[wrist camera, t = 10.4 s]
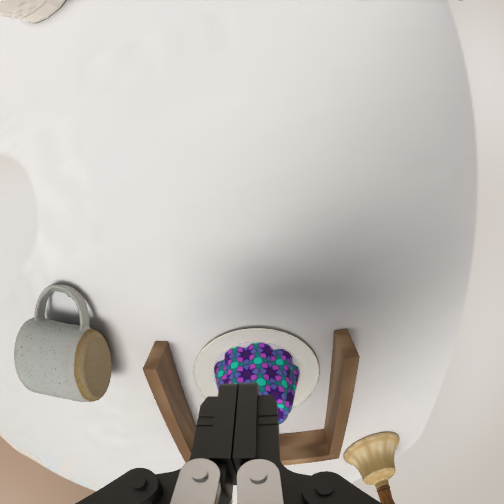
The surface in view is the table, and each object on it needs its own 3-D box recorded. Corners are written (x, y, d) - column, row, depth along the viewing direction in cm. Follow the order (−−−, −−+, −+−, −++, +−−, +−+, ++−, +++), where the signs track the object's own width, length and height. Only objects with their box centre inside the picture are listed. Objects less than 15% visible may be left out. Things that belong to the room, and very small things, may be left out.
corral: (346, 328, 25) (359, 356, 22) (333, 432, 31) (338, 458, 27) (155, 341, 26) (142, 368, 22) (191, 440, 31) (187, 465, 28)
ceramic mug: (122, 372, 28) (95, 424, 20) (62, 362, 28) (31, 404, 20) (98, 281, 24) (53, 324, 17) (35, 278, 24) (-12, 312, 17)
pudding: (218, 418, 30) (214, 454, 25) (175, 337, 26) (161, 375, 21) (325, 398, 29) (333, 435, 24) (306, 308, 25) (317, 346, 20)
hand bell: (331, 458, 33) (348, 554, 18) (373, 427, 31) (406, 531, 16) (369, 465, 35) (391, 547, 20) (409, 435, 32) (443, 522, 17)
